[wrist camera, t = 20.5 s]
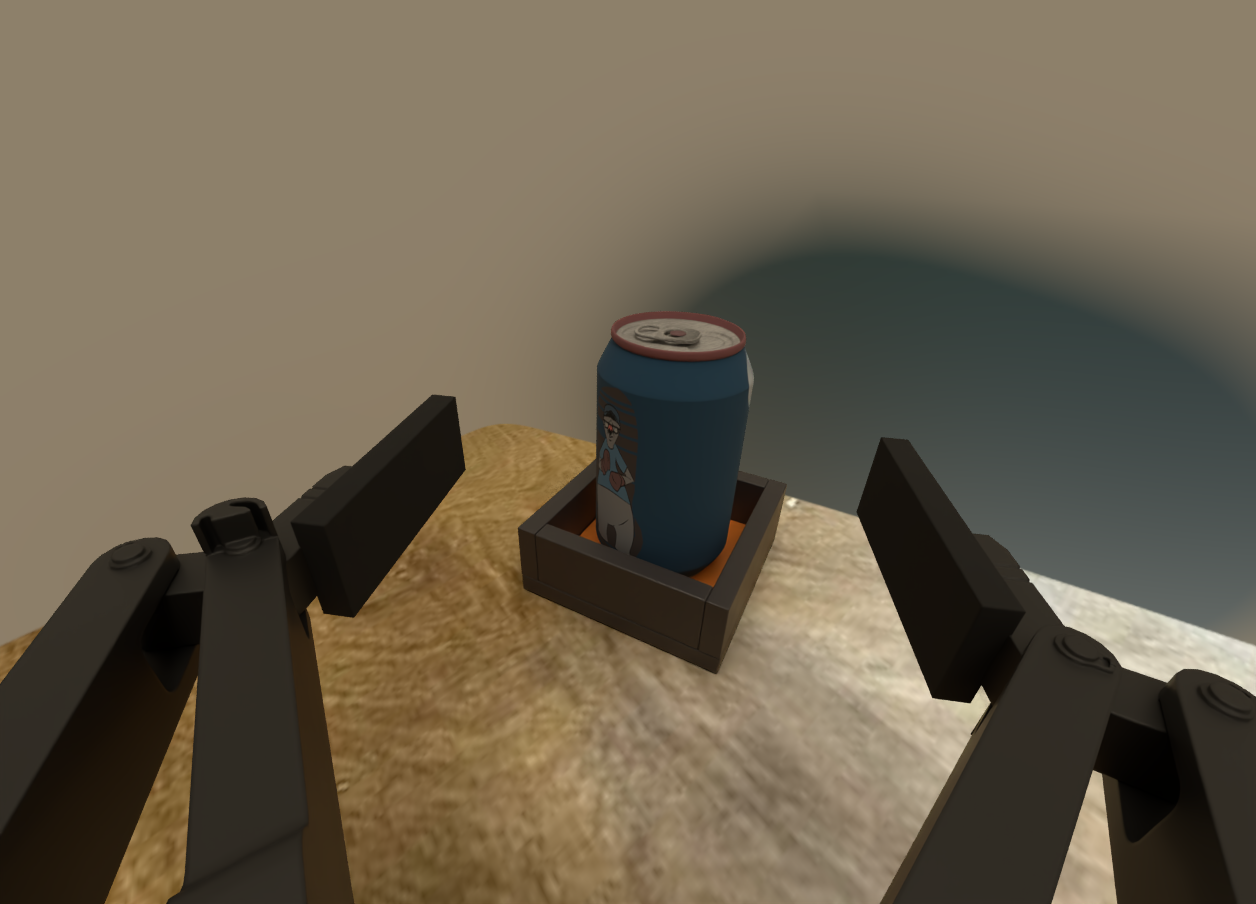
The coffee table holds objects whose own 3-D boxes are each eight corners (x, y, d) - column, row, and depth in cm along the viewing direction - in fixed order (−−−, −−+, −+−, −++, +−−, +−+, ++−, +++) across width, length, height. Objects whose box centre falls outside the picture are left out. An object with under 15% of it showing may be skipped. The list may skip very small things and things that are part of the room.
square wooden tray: (522, 588, 27) (517, 527, 25) (619, 488, 35) (620, 436, 33) (717, 674, 23) (729, 610, 21) (774, 539, 31) (787, 483, 29)
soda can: (733, 523, 30) (769, 318, 24) (709, 609, 24) (749, 368, 18) (621, 497, 32) (628, 300, 26) (574, 571, 26) (570, 341, 20)
